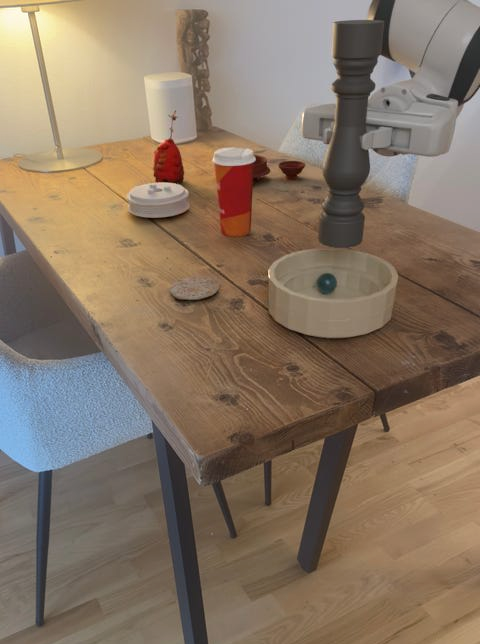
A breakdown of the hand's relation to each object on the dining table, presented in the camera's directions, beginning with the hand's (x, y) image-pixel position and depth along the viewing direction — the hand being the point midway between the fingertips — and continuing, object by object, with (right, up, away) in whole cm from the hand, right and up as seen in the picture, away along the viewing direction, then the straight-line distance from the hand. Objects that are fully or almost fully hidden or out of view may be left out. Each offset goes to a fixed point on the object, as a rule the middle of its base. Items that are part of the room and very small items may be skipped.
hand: (344, 140), depth 71 cm
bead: (0, -15, +13) cm, 20 cm away
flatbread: (-20, -15, +17) cm, 30 cm away
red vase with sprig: (-30, +22, +63) cm, 73 cm away
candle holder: (+1, -10, +9) cm, 13 cm away
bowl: (0, -19, +11) cm, 22 cm away
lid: (-30, +8, +46) cm, 56 cm away
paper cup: (-14, +1, +37) cm, 39 cm away
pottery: (-8, +23, +63) cm, 67 cm away
